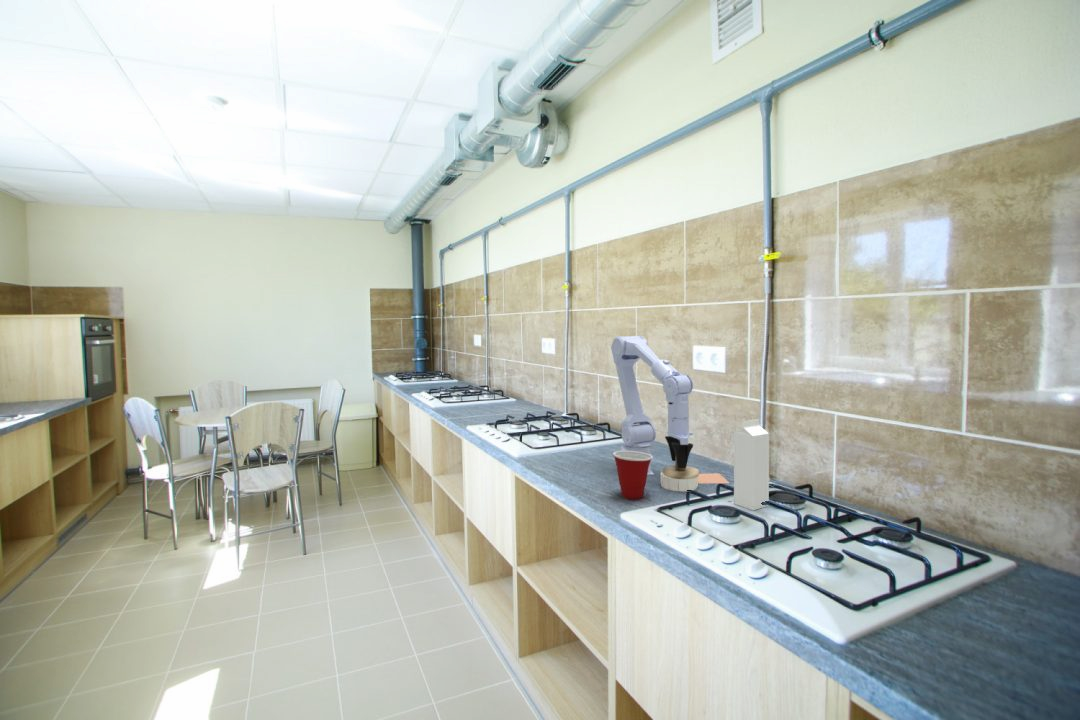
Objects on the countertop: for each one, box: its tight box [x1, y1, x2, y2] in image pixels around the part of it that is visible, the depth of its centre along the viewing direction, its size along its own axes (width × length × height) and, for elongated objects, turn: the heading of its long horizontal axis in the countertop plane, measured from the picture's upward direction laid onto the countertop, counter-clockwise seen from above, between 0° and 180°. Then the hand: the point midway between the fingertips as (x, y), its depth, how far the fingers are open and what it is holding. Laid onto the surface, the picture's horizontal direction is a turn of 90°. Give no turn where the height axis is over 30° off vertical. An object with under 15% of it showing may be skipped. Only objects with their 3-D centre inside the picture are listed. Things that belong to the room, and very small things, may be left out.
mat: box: [698, 472, 730, 485], centre depth 153 cm, size 10×10×1 cm
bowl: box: [660, 471, 699, 492], centre depth 147 cm, size 10×10×4 cm
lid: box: [662, 456, 700, 479], centre depth 146 cm, size 10×10×5 cm
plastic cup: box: [612, 450, 654, 501], centre depth 140 cm, size 11×11×12 cm
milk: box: [733, 419, 770, 511], centre depth 131 cm, size 6×6×22 cm
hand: (678, 464), depth 146 cm, fingers open, 7 cm apart
